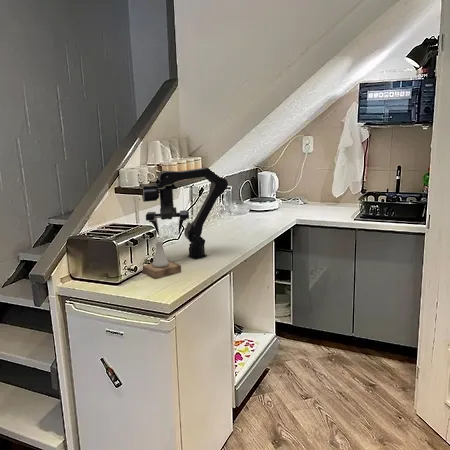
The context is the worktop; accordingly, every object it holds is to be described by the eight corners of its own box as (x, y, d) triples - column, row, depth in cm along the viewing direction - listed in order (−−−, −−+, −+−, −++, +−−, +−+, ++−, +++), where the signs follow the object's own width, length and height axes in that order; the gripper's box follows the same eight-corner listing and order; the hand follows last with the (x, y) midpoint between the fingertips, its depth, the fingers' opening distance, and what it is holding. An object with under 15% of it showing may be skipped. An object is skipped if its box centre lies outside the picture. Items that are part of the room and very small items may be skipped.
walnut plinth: (166, 265, 197) (165, 259, 197) (181, 272, 188) (180, 265, 187) (141, 272, 190) (140, 265, 189) (155, 279, 181) (155, 271, 180)
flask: (170, 262, 192) (168, 239, 190) (168, 267, 185) (167, 243, 183) (153, 263, 192) (151, 240, 190) (150, 268, 185) (149, 244, 183)
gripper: (143, 203, 191) (145, 239, 195) (187, 201, 192) (189, 237, 195) (146, 199, 202) (148, 233, 205) (188, 197, 203) (189, 231, 206)
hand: (168, 234), depth 203 cm, fingers open, 9 cm apart
